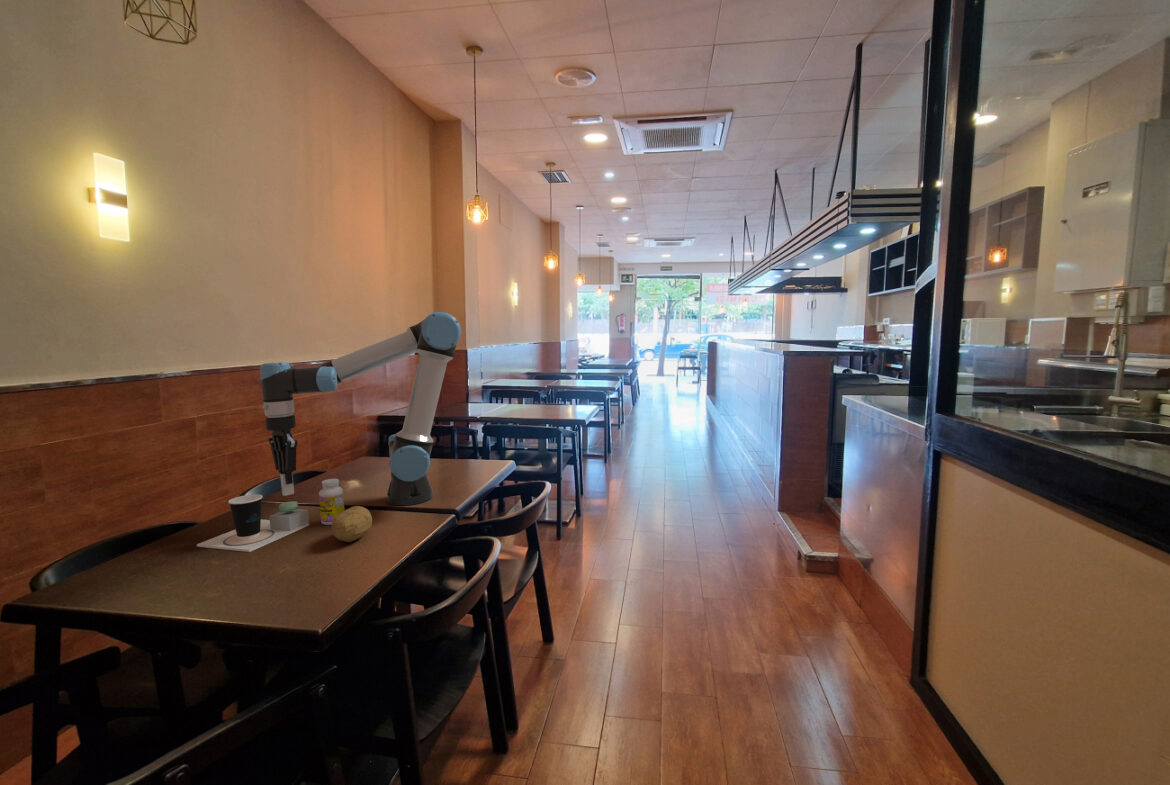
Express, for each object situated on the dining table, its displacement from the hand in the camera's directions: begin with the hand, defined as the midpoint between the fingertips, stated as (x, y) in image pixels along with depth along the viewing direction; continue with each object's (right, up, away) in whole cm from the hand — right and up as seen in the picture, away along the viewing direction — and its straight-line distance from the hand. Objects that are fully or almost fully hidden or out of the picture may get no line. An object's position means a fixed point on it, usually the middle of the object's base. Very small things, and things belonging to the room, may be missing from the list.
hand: (288, 494), depth 150 cm
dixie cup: (-6, -10, -9) cm, 15 cm away
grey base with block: (-6, -11, -5) cm, 13 cm away
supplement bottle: (+11, -9, +4) cm, 15 cm away
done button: (+1, -9, 0) cm, 9 cm away
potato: (+24, -11, -10) cm, 28 cm away
